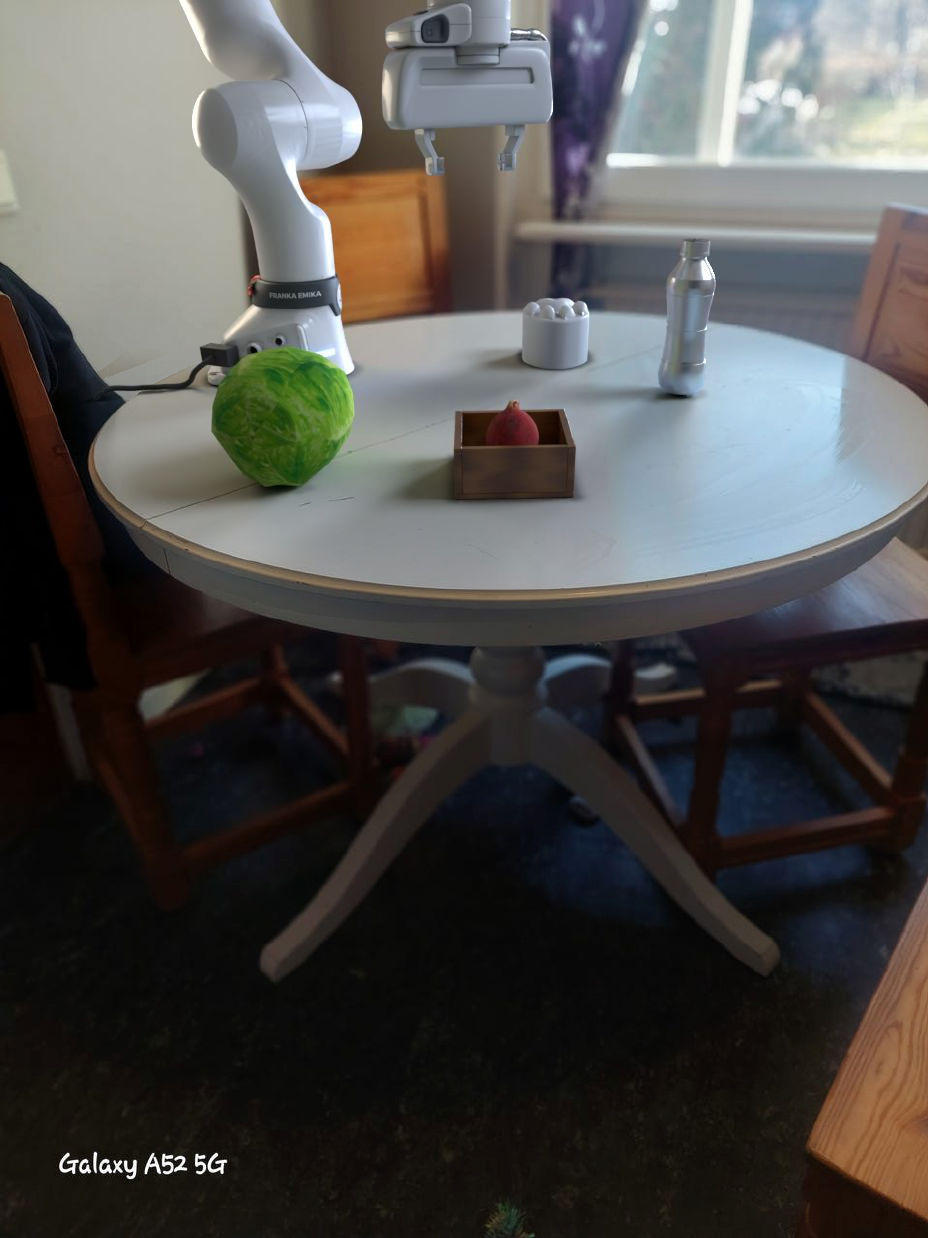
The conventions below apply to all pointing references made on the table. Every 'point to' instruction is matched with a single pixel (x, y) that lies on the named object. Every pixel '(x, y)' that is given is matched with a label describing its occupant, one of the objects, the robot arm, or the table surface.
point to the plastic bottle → (687, 319)
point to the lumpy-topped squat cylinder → (555, 333)
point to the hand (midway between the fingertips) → (471, 172)
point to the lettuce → (283, 415)
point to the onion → (512, 428)
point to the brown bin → (513, 458)
